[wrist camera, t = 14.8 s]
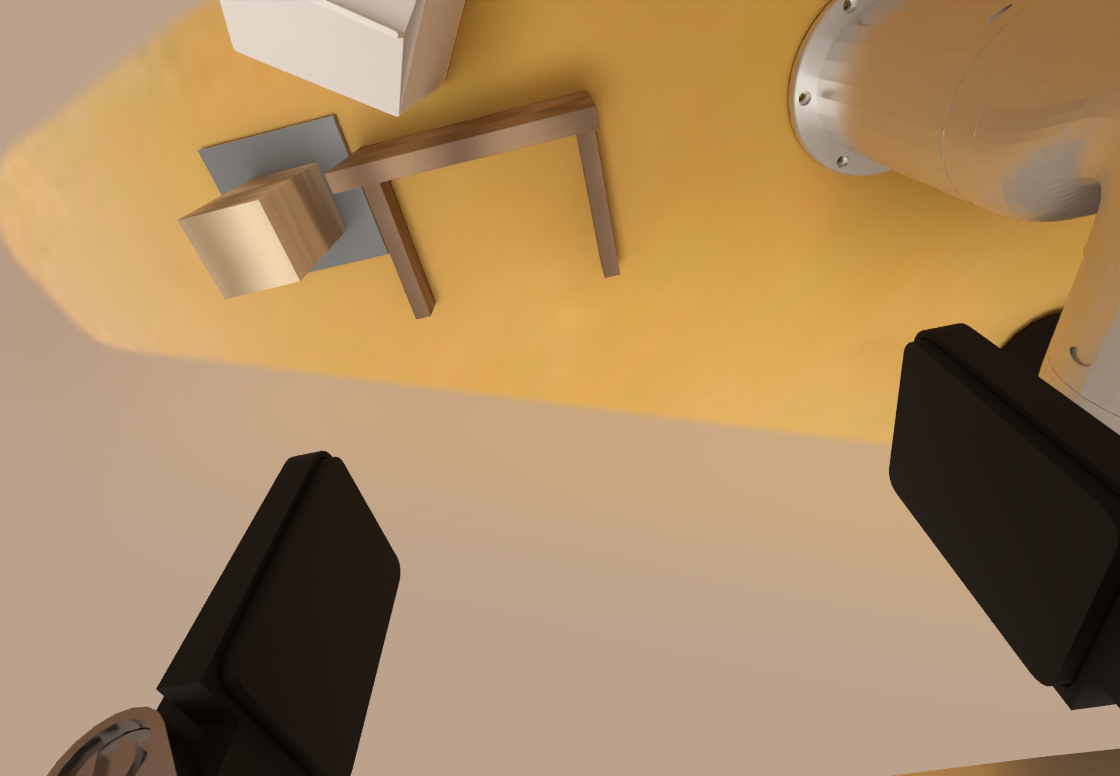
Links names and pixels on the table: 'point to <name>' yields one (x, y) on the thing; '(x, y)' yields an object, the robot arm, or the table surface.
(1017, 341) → the coffee jar
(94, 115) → the table surface
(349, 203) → the coaster
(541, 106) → the wooden arch bench
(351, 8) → the milk carton
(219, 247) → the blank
